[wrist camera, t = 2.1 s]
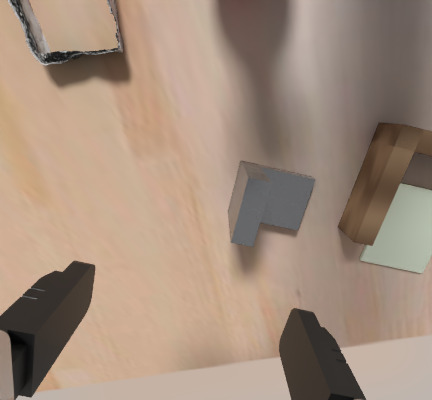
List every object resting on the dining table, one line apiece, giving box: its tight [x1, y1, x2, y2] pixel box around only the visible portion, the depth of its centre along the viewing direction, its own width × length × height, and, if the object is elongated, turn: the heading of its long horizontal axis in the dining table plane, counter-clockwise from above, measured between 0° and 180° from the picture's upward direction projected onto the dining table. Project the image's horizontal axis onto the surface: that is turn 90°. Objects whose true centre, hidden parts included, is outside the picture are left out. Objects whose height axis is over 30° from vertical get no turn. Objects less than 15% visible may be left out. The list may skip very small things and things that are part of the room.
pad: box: [359, 183, 432, 273], centre depth 32 cm, size 10×8×1 cm
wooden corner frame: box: [338, 123, 432, 246], centre depth 29 cm, size 12×14×4 cm
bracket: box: [228, 161, 315, 247], centre depth 27 cm, size 8×6×8 cm
